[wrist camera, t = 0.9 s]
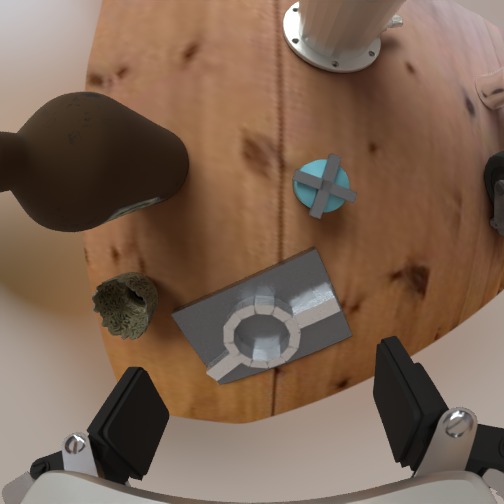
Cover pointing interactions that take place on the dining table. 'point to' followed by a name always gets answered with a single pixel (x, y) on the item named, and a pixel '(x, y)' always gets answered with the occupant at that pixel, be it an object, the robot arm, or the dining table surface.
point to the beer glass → (491, 88)
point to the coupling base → (265, 319)
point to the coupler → (322, 186)
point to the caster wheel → (496, 189)
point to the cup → (126, 304)
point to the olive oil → (89, 162)
